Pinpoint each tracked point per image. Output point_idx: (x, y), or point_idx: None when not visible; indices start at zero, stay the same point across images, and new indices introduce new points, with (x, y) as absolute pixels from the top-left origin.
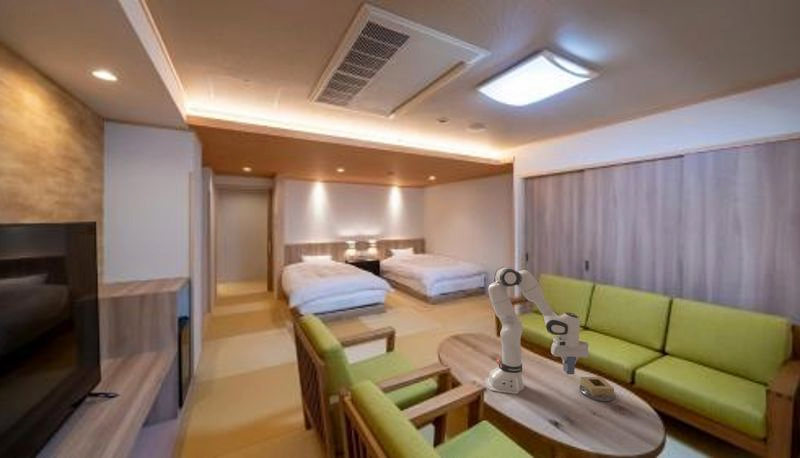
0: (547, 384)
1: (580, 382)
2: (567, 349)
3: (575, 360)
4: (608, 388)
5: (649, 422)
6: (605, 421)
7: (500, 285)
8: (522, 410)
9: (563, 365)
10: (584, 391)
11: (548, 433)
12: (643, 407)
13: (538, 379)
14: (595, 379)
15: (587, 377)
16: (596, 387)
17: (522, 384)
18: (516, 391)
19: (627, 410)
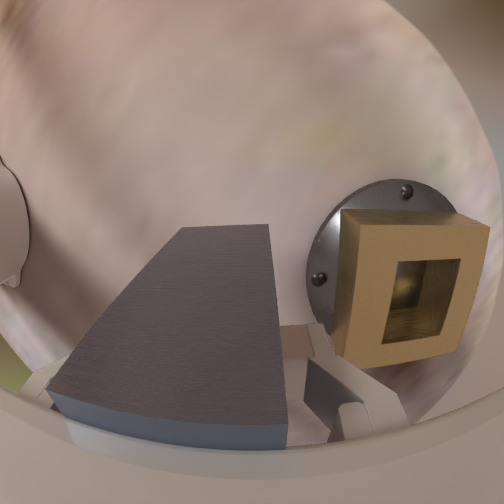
0: (125, 186)
1: (345, 213)
2: None
3: (316, 414)
4: (431, 356)
5: (421, 408)
6: (289, 427)
7: None
8: (47, 363)
9: (163, 247)
10: (322, 287)
11: None
12: (475, 344)
13: (93, 134)
14: (443, 258)
15: (409, 234)
16: (376, 358)
17: (13, 252)
18: (12, 283)
19: (416, 373)
